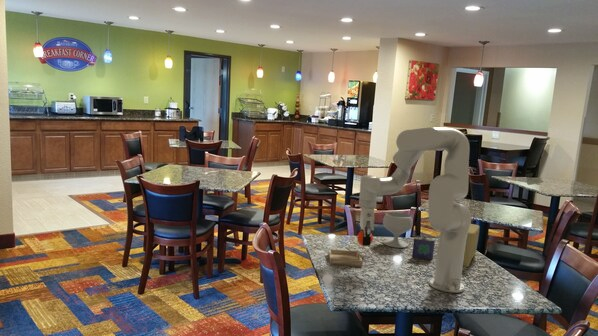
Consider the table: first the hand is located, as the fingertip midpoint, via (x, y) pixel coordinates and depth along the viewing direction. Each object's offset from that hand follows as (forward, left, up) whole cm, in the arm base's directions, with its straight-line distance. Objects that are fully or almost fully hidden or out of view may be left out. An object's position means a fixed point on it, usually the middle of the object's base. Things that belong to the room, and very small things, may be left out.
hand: (364, 242), depth 206 cm
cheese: (+3, -47, -6) cm, 47 cm away
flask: (+1, -26, -6) cm, 27 cm away
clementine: (0, 0, -2) cm, 2 cm away
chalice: (+20, -18, -6) cm, 28 cm away
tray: (-10, +10, -6) cm, 15 cm away
